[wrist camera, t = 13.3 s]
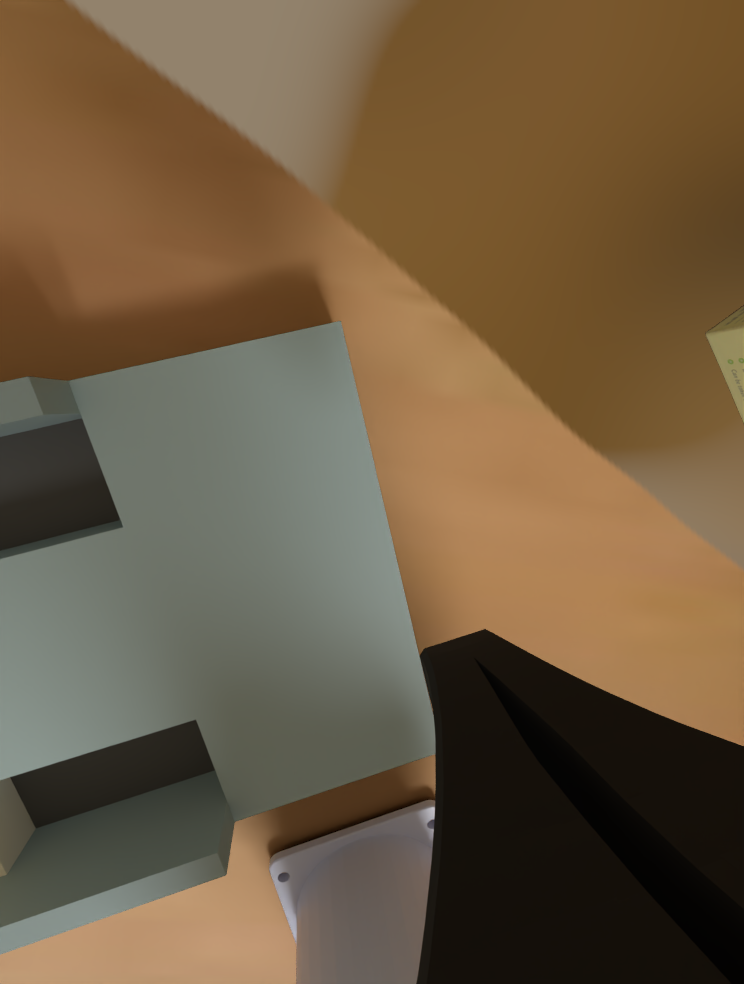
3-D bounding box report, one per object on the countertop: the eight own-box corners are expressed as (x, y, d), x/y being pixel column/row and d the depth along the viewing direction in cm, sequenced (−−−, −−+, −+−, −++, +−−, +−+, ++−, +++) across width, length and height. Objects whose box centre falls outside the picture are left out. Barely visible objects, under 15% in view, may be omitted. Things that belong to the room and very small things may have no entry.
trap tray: (427, 718, 20) (459, 793, 16) (-164, 912, 17) (-299, 1059, 13) (335, 331, 16) (347, 307, 12) (-440, 503, 13) (-739, 542, 10)
